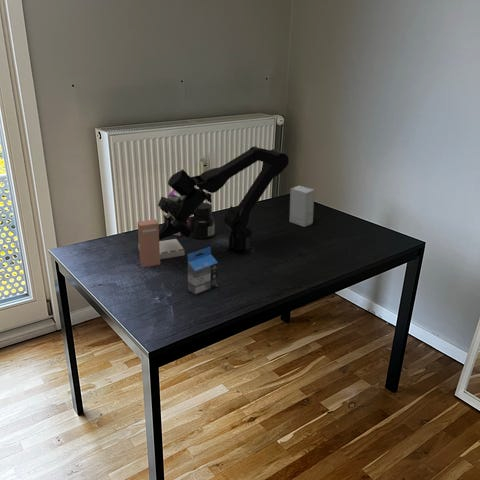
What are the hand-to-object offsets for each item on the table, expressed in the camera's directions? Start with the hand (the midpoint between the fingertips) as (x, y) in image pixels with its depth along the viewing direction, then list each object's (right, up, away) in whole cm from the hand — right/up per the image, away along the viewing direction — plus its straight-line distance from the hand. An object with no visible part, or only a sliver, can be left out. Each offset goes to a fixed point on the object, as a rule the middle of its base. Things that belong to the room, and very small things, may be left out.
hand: (158, 238), depth 158 cm
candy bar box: (+3, +3, +29) cm, 29 cm away
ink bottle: (+13, +1, +25) cm, 28 cm away
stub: (-3, -8, +2) cm, 9 cm away
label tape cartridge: (+16, -16, -11) cm, 24 cm away
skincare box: (+52, +6, +39) cm, 65 cm away
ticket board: (-1, -5, +11) cm, 12 cm away
